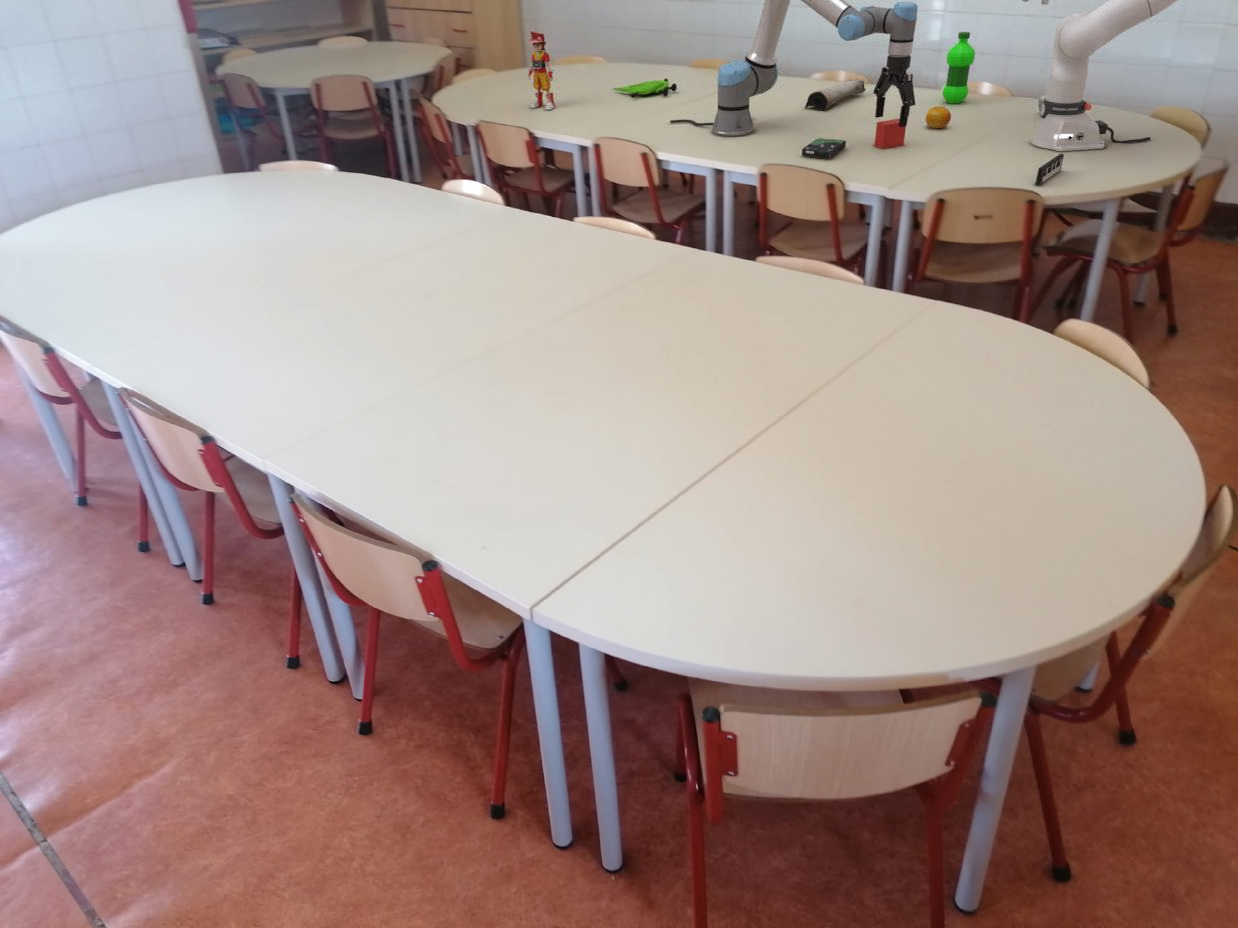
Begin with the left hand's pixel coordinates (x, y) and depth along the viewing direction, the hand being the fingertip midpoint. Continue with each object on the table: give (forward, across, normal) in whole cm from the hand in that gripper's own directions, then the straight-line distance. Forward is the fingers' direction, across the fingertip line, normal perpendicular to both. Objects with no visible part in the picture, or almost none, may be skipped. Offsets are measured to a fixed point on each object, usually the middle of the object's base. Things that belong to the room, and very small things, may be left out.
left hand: (890, 122), depth 307 cm
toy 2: (+10, +124, +42) cm, 132 cm away
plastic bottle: (+8, +36, -56) cm, 67 cm away
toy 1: (+11, +122, +88) cm, 151 cm away
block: (+8, 0, 0) cm, 8 cm away
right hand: (-30, +12, -63) cm, 71 cm away
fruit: (+8, +10, -28) cm, 30 cm away
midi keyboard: (+7, -55, -20) cm, 58 cm away
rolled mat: (+9, +62, -18) cm, 65 cm away
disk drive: (+8, +4, +23) cm, 25 cm away
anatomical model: (+7, -1, -71) cm, 71 cm away
